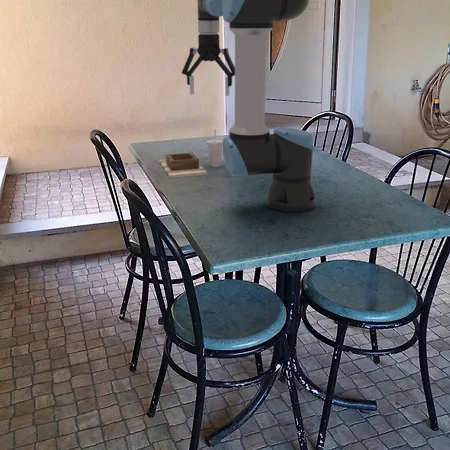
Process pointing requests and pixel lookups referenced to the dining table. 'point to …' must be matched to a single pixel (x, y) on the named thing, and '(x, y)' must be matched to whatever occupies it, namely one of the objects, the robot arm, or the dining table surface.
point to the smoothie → (215, 151)
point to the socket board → (182, 165)
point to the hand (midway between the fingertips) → (209, 94)
